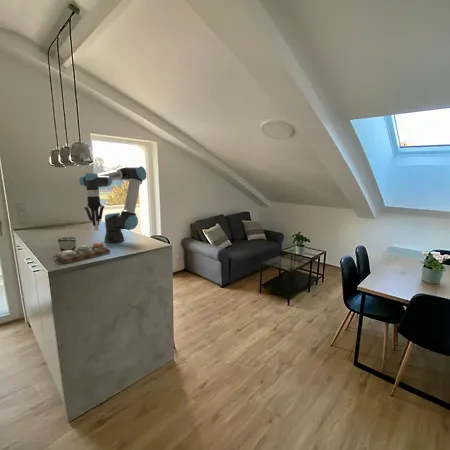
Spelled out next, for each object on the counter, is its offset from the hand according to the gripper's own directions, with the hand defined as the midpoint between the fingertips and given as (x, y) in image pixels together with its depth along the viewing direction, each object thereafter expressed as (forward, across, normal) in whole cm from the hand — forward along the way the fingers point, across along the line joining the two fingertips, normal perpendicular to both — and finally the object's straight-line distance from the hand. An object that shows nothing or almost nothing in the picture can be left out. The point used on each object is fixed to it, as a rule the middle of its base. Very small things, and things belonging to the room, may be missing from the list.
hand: (96, 230), depth 183 cm
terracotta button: (+12, 0, 0) cm, 12 cm away
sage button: (+12, -10, 0) cm, 15 cm away
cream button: (+13, -20, 0) cm, 24 cm away
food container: (+17, -12, +19) cm, 28 cm away
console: (+16, -10, 0) cm, 19 cm away
